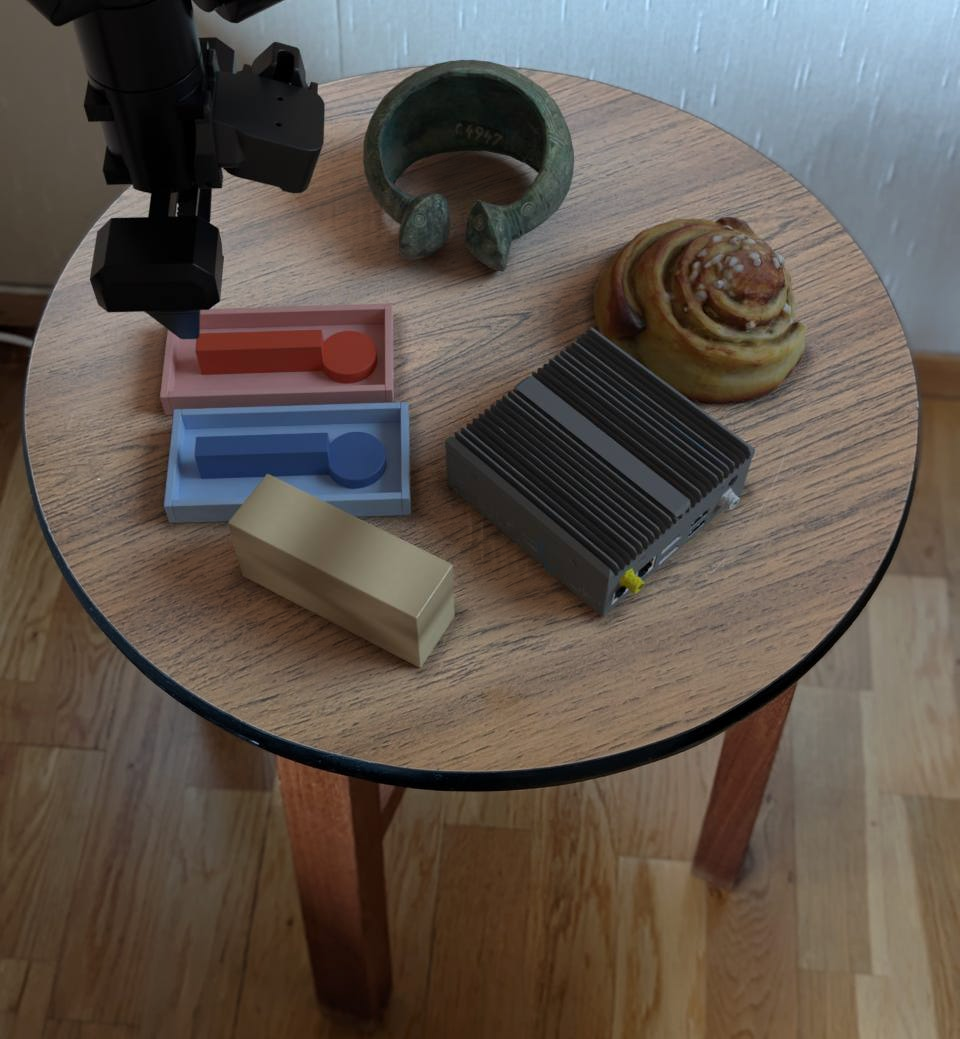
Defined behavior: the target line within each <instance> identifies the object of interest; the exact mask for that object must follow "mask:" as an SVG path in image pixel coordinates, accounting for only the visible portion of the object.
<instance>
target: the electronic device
mask: <svg viewBox="0 0 960 1039" xmlns="http://www.w3.org/2000/svg"><path fill="white" fill-rule="evenodd" d="M444 450H445V473H446V474H445V475H446V476H445V477H446V485H447V486H448V487H449V488H451V490H453V491H454V492H455V493H456V494H457V495H458V496H460V498H462V499H463V500H464V501H466V502H467V504H469V505H470V506H471V507H472V508H473V509H475V510H476V511H477V512H478V513H479V514H481V515H482V516H483V517H484V518H485V519H486V520H488V521H489V522H490V523H491V524H492V525H493V526H495V528H497V529H498V530H499V531H500V532H502V534H504V535H505V536H507V537H508V539H510V540H511V541H512V542H513V543H514V544H516V546H518V547H519V548H520V549H521V550H522V551H524V553H526V554H527V555H528V556H529V557H531V558H532V559H533V560H534V561H535V562H536V563H538V564H539V566H541V567H542V568H543V569H544V570H546V571H547V572H548V573H549V574H551V575H552V576H553V577H554V578H555V579H557V581H559V582H560V583H561V584H562V585H563V586H564V587H565V588H567V589H568V590H569V591H570V592H571V593H573V594H574V595H575V596H576V597H577V598H578V599H579V600H581V601H582V602H583V603H584V604H585V605H587V606H588V607H589V608H590V609H591V610H593V612H595V613H596V614H597V615H598V616H599V617H600V618H603V617H605V616H606V615H607V614H609V612H611V611H612V610H613V609H614V608H615V607H616V606H617V605H619V604H620V603H621V602H622V601H623V600H624V599H626V597H628V595H629V594H631V593H632V594H633V595H636V594H638V593H639V592H640V591H642V588H643V587H644V586H645V583H646V582H645V580H646V579H647V578H649V577H650V576H651V575H652V574H653V573H654V572H655V571H656V570H657V569H659V568H660V567H661V566H663V564H664V563H666V562H667V561H668V560H669V559H670V558H671V557H672V556H674V554H676V553H677V552H678V551H679V550H680V549H681V548H682V547H683V546H684V545H685V544H687V543H688V542H689V541H690V540H691V539H692V538H694V536H696V535H697V534H699V532H700V531H701V530H702V529H703V528H704V527H705V526H707V525H708V524H709V523H710V522H712V520H713V519H714V518H715V517H717V516H718V515H719V514H720V513H721V512H722V511H723V510H724V509H726V510H727V511H732V510H733V509H734V508H735V507H737V505H738V503H739V501H740V500H741V498H740V495H742V493H743V491H744V488H745V483H746V481H747V477H748V473H749V470H750V467H751V464H752V460H753V459H754V455H755V452H756V448H755V447H753V446H752V445H750V444H749V443H748V442H747V441H745V440H743V439H742V438H741V437H740V436H738V435H737V434H736V433H734V432H733V431H731V429H729V428H728V427H726V426H725V425H724V424H722V423H721V422H719V421H718V420H717V419H716V418H714V417H713V416H712V415H710V414H709V413H707V412H706V411H705V410H704V409H702V408H701V407H699V406H698V405H697V404H696V403H695V402H693V401H692V400H691V399H690V398H687V397H685V396H683V395H682V394H681V393H679V392H678V391H677V390H675V389H674V388H673V387H671V386H670V385H669V384H667V383H666V382H665V381H663V380H662V379H661V378H659V377H658V376H657V375H655V374H654V373H653V372H651V371H650V370H649V369H647V368H646V367H645V366H643V365H642V364H641V363H639V362H638V361H637V360H635V359H634V358H632V357H631V356H630V355H628V354H627V353H626V352H624V351H623V350H622V349H620V348H619V347H618V346H616V345H615V344H614V343H612V342H611V341H610V340H608V339H607V338H606V337H604V336H603V335H602V334H600V331H599V330H598V331H597V330H596V329H595V328H594V327H592V326H591V327H589V328H588V329H587V330H586V333H582V334H581V337H577V338H575V341H571V342H570V345H567V346H565V348H564V349H562V350H559V354H554V356H553V358H550V359H548V363H545V362H544V363H542V367H537V371H534V372H531V375H529V376H526V377H525V378H523V379H522V380H520V382H518V383H517V384H516V385H515V386H513V388H512V390H507V394H505V395H504V394H503V395H501V399H496V400H495V404H494V403H492V404H490V406H489V408H484V412H483V413H478V417H473V418H472V421H471V422H466V427H465V426H464V427H463V426H462V427H460V431H454V436H451V435H450V436H449V437H447V438H446V439H445V440H444Z"/></svg>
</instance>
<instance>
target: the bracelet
mask: <svg viewBox="0 0 960 1039" xmlns="http://www.w3.org/2000/svg"><path fill="white" fill-rule="evenodd" d="M362 147H363V148H362V165H363V173H364V176H365V179H366V182H367V185H368V188H369V190H370V193H371V194H372V196H373V199H374V200H375V201H376V202H377V204H378V205H379V206H380V208H382V209H383V210H384V211H385V213H386V214H387V215H388V216H389V217H390V218H391V219H392V220H393V221H394V222H396V223H397V224H398V225H399V231H398V238H397V247H398V253H399V254H400V256H401V257H403V258H404V259H405V260H409V261H414V260H418V259H423V258H426V257H428V256H431V255H432V254H434V253H436V252H437V251H439V249H440V248H441V247H443V245H445V244H446V242H447V241H448V239H449V235H450V231H451V223H452V221H451V214H450V207H449V203H448V201H447V198H446V197H445V196H444V195H443V194H439V193H431V192H430V193H425V194H421V195H417V196H414V195H412V194H409V193H406V191H404V190H403V189H401V188H399V187H398V186H397V185H396V182H397V180H398V179H399V178H400V177H401V176H402V175H403V174H404V173H405V172H406V171H407V170H408V169H409V168H410V167H411V166H412V165H413V164H414V163H416V162H418V161H421V160H422V159H426V158H429V157H433V156H437V155H440V154H447V153H458V152H459V153H460V152H487V153H493V154H497V155H502V156H507V157H511V158H513V159H514V160H516V161H518V162H520V163H523V164H526V165H527V166H528V167H529V168H531V169H532V170H534V171H535V172H536V173H537V175H536V176H535V178H534V180H533V181H532V183H531V184H530V186H529V187H528V188H527V189H526V191H525V192H524V194H522V196H521V197H519V199H517V200H515V201H512V202H510V203H508V204H494V203H493V204H492V203H490V202H487V201H483V200H480V199H477V200H476V202H475V203H474V205H473V206H472V208H471V210H470V213H469V216H468V218H467V220H466V223H465V230H464V243H465V245H466V247H467V249H468V250H469V252H470V253H471V254H472V255H473V257H475V259H476V260H478V261H479V262H481V263H482V264H483V265H485V266H486V267H488V268H489V269H493V270H496V271H500V272H504V271H506V268H507V263H508V258H509V254H510V251H511V245H512V241H514V240H519V239H520V238H522V237H523V236H524V235H526V234H529V233H530V232H532V231H534V230H536V229H537V228H539V226H541V225H542V224H544V223H545V222H546V221H547V220H548V219H549V218H550V217H551V216H553V215H554V214H555V213H556V212H558V210H559V209H560V208H561V206H562V204H563V203H564V201H565V199H566V198H567V195H568V193H569V191H570V188H571V186H572V181H573V177H574V169H575V168H574V167H575V150H574V144H573V140H572V135H571V131H570V129H569V125H568V124H567V122H566V120H565V117H564V114H563V113H562V111H561V108H560V107H559V104H557V102H556V100H554V98H553V97H552V96H551V95H550V94H549V92H548V91H547V90H546V89H544V88H543V87H542V86H541V85H539V84H538V83H536V82H535V81H534V80H533V79H532V78H529V77H528V76H526V75H524V74H522V73H521V72H519V71H517V70H515V69H513V68H511V67H508V66H506V65H503V64H500V63H498V62H497V63H496V62H493V61H488V60H479V59H478V60H477V59H457V60H456V59H455V60H448V61H443V62H438V63H435V64H434V63H433V64H432V65H428V66H426V67H424V68H423V69H420V70H418V71H416V72H413V73H411V74H410V75H409V76H407V77H405V78H404V79H402V80H401V81H400V82H399V83H397V84H396V85H395V86H393V87H392V89H390V90H389V91H388V92H387V93H386V94H385V95H384V96H383V98H381V101H380V102H379V103H378V105H377V106H376V108H375V110H374V112H373V114H372V115H371V117H370V119H369V122H368V124H367V128H366V132H365V133H364V138H363V145H362Z"/></svg>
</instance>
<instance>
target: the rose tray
mask: <svg viewBox="0 0 960 1039" xmlns="http://www.w3.org/2000/svg"><path fill="white" fill-rule="evenodd" d="M393 311H394V310H393V303H364V304H363V303H360V304H358V303H357V304H330V305H329V304H327V305H297V306H296V305H295V306H294V305H293V306H291V305H290V306H267V307H266V306H262V307H261V306H260V307H257V306H256V307H228V308H210V309H209V310H200V333H229V332H261V331H292V330H322V335H323V341H325V340H326V339H327V338H328V337H330V336H331V335H333V334H336V333H338V332H342V331H357V332H360V333H363V334H365V335H367V336H368V337H369V338H371V340H372V341H373V342H374V344H375V346H376V350H377V365H376V368H375V370H374V371H373V372H372V374H371V375H370V376H368V377H367V378H365V379H364V380H361V381H359V382H355V383H340V382H337V381H334V380H332V379H331V378H329V377H328V376H327V375H326V374H325V373H324V372H323V371H302V372H271V373H241V374H210V375H202V373H201V370H200V366H199V362H198V359H197V355H196V351H195V348H196V339H180V338H179V337H177V336H176V335H175V334H173V333H172V332H171V331H169V330H168V329H166V330H167V331H166V338H165V339H166V341H165V348H164V357H163V366H162V374H161V376H162V377H161V384H160V391H159V392H160V394H159V399H160V402H161V405H162V409H163V410H164V415H165V416H173V414H174V410H175V409H181V410H182V409H204V408H236V407H267V406H299V405H330V404H362V403H393V402H395V378H394V377H395V366H394V365H395V357H394V356H395V354H394V352H395V350H394V345H395V343H394V312H393Z"/></svg>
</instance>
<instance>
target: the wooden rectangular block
mask: <svg viewBox="0 0 960 1039" xmlns="http://www.w3.org/2000/svg"><path fill="white" fill-rule="evenodd" d="M227 526H228V529H229V533H230V536H231V539H232V543H233V546H234V550H235V553H236V558H237V561H238V564H239V567H240V570H241V574H242V576H243V577H244V578H246V579H247V580H250V581H252V582H254V583H256V584H257V585H259V586H262V587H263V588H265V589H267V590H269V591H271V592H273V593H275V594H276V595H278V596H280V597H282V598H284V599H287V600H288V601H290V602H292V603H294V604H296V605H297V606H300V607H302V608H304V609H305V610H308V611H310V612H312V613H313V614H315V615H317V616H319V617H320V618H323V619H325V620H326V621H329V622H331V623H333V624H335V625H336V626H339V627H340V628H342V629H343V630H345V631H348V632H350V633H352V634H354V635H356V636H358V637H360V638H362V639H364V640H366V641H367V642H369V643H371V644H373V645H374V646H377V647H379V648H380V649H383V650H384V651H386V652H388V653H390V654H392V655H394V656H395V657H398V658H400V659H401V660H404V661H406V662H408V663H410V664H411V665H414V666H415V667H417V668H422V667H423V665H424V664H425V662H426V661H427V659H428V658H429V656H430V655H431V654H432V652H433V650H434V649H435V647H436V645H437V644H438V643H439V641H440V640H441V638H442V637H443V635H444V633H445V632H446V630H447V629H448V627H449V626H450V624H451V623H452V621H453V620H454V619H455V588H454V586H455V584H454V564H452V563H451V562H449V561H446V560H444V559H442V558H440V557H438V556H437V555H434V554H432V553H430V552H428V551H425V550H424V549H422V548H420V547H417V546H415V545H414V544H413V543H410V542H408V541H406V540H403V539H401V538H399V537H398V536H396V535H393V534H392V533H390V532H387V531H385V530H384V529H381V528H379V527H377V526H375V525H373V524H371V523H370V522H367V521H366V520H363V519H361V518H360V517H355V516H353V515H351V514H349V513H347V512H345V511H343V510H341V509H339V508H337V507H334V506H332V505H330V504H328V503H326V502H324V501H322V500H320V499H318V498H316V497H314V496H312V495H310V494H308V493H306V492H304V491H302V490H300V489H298V488H296V487H294V486H292V485H290V484H288V483H286V482H284V481H282V480H280V479H278V478H275V477H273V476H271V475H269V474H266V475H265V477H264V478H263V479H262V480H261V482H260V483H259V484H258V485H257V487H256V488H255V489H254V490H253V492H252V493H251V494H250V495H249V497H248V498H247V499H246V500H245V502H244V503H243V504H242V505H241V507H240V508H239V509H238V510H237V512H236V513H235V514H234V515H233V516H232V518H231V519H230V520H229V521H227Z"/></svg>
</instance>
